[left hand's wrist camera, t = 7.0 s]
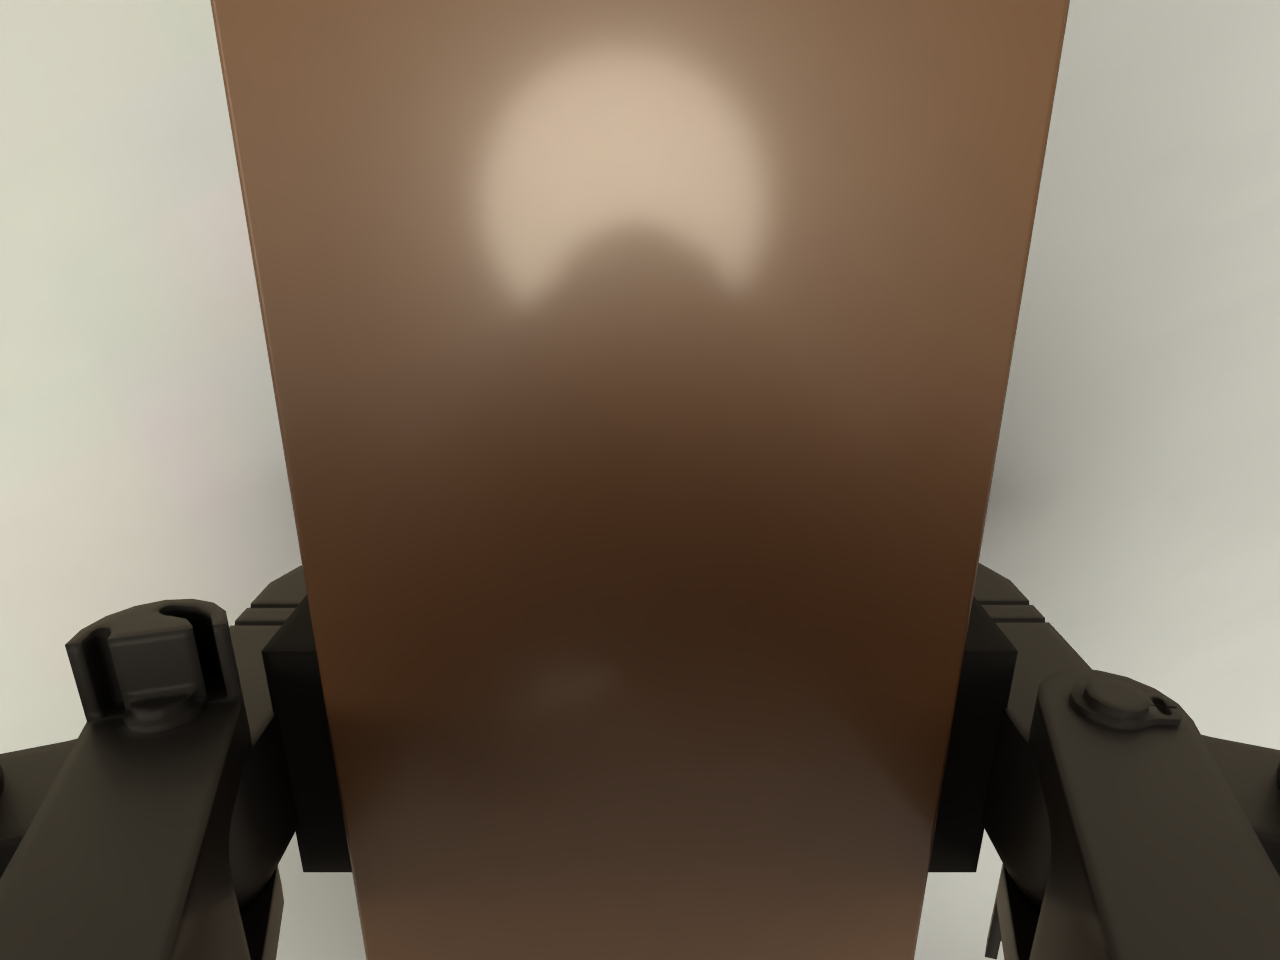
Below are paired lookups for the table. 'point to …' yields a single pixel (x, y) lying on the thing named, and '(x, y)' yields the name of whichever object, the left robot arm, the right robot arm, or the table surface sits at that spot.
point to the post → (640, 444)
